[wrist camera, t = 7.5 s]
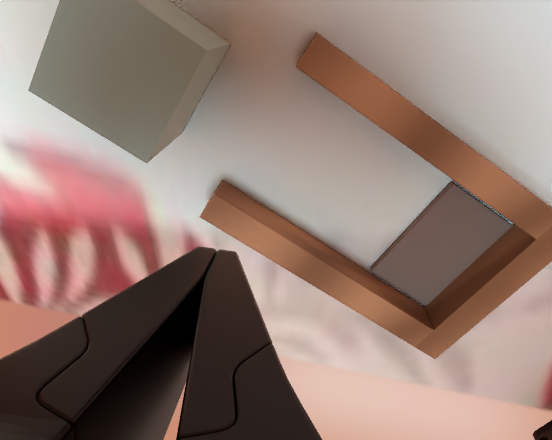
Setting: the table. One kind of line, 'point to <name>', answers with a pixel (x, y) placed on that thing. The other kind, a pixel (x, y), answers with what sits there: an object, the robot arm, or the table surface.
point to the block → (128, 69)
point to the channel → (363, 285)
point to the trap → (440, 244)
